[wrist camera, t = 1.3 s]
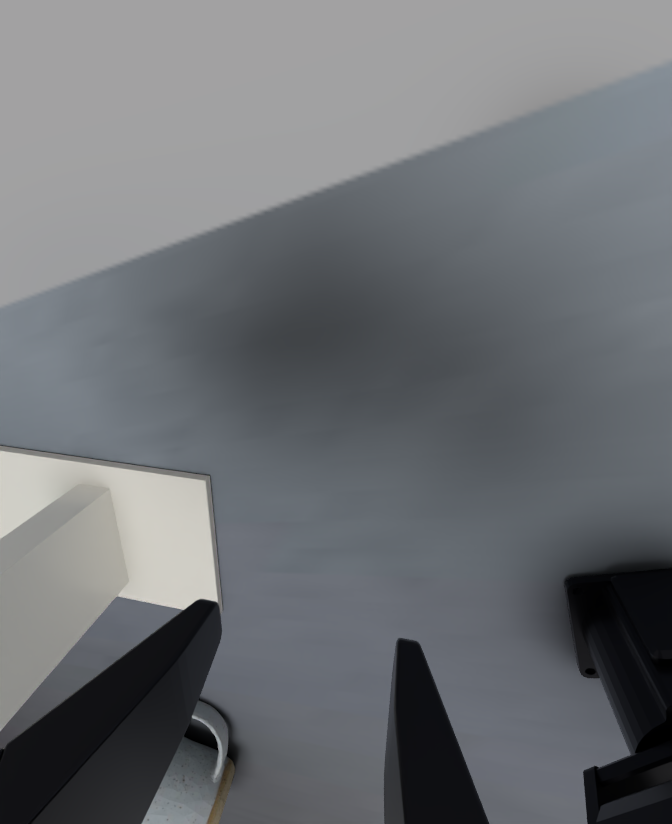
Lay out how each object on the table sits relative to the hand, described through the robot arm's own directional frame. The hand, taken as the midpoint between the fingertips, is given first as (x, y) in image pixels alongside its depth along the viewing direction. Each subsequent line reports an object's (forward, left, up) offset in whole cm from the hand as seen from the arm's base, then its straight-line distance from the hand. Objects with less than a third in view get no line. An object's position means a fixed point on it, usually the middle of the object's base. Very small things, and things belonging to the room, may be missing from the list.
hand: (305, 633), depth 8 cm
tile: (-4, +18, -12) cm, 22 cm away
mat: (-3, +21, -12) cm, 24 cm away
